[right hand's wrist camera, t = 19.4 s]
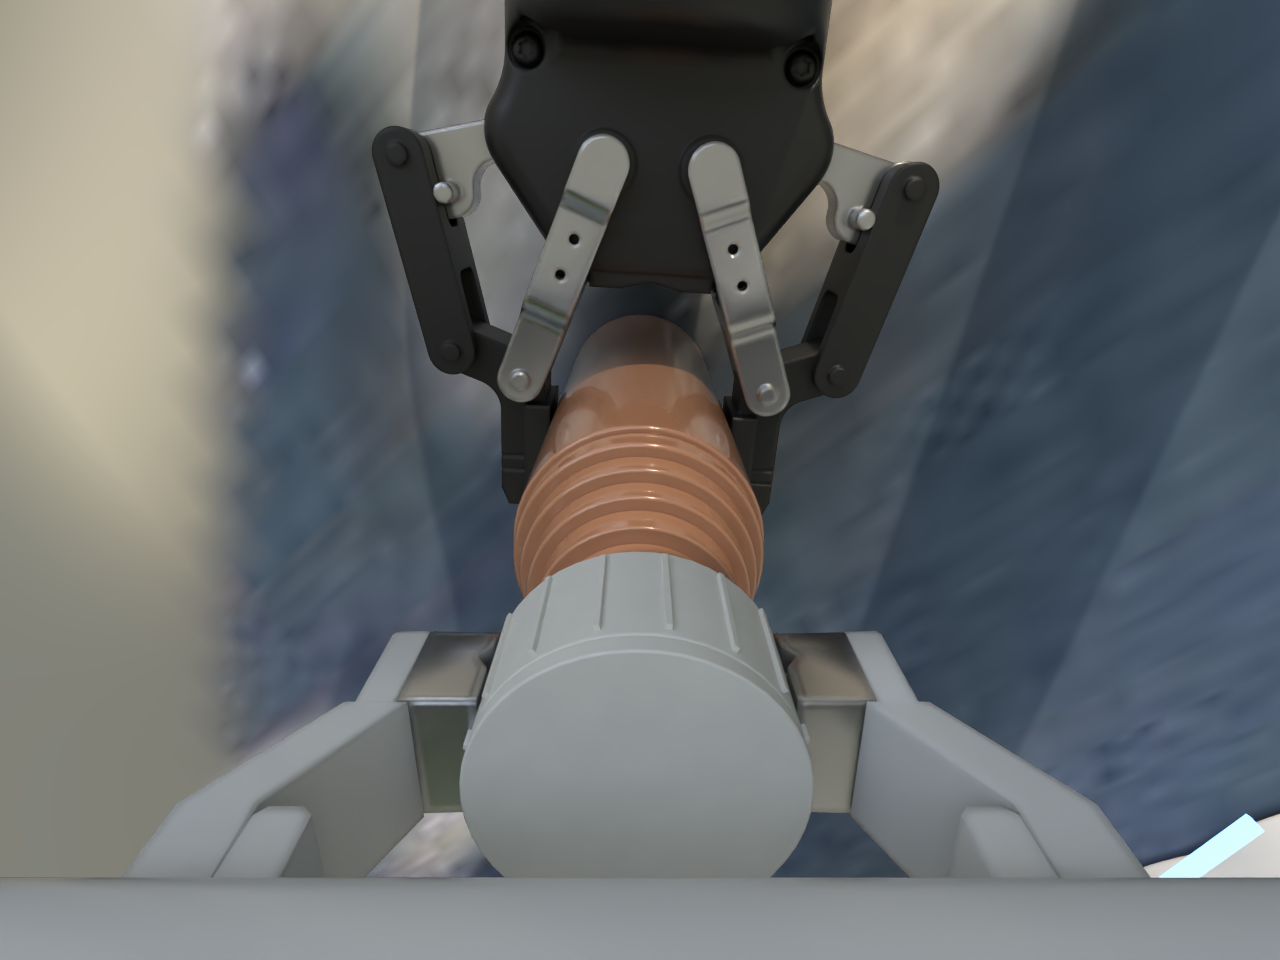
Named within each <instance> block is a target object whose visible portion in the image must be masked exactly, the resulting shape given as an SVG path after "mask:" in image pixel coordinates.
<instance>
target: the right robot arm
mask: <svg viewBox="0 0 1280 960" xmlns="http://www.w3.org/2000/svg"><path fill="white" fill-rule="evenodd" d="M500 636H501V633H486V632H438V631H434V632H430V631H399V632H397V633H395V634H394V635H393V636H392V637H391V639H390V640H389V642H388V644H387V646H386V647H385V649H384V651H383V653H382V655H381V656H380V658H379V660H378V662H377V663H376V665H375V667H374V669H373V671H372V672H371V674H370V676H369V678H368V680H367V681H366V683H365V685H364V687H363V688H362V690H361V692H360V694H359V696H358V697H357V699H356V701H355V702H343V703H342V704H340V705H338V706H337V707H335V708H333V709H332V710H330V711H328V712H327V713H325V714H324V715H322V716H320V717H319V718H317V719H315V720H314V721H312V722H310V723H309V724H307V725H305V726H304V727H302V728H300V729H299V730H297V731H295V732H294V733H292V734H290V735H289V736H287V737H285V738H284V739H282V740H281V741H279V742H277V743H276V744H274V745H272V746H271V747H269V748H267V749H266V750H264V751H262V752H261V753H259V754H257V755H256V756H254V757H252V758H251V759H249V760H247V761H246V762H244V763H242V764H241V765H239V766H238V767H236V768H234V769H233V770H231V771H229V772H228V773H226V774H224V775H223V776H221V777H219V778H218V779H216V780H214V781H213V782H211V783H209V784H208V785H206V786H204V787H203V788H201V789H199V790H198V791H196V792H195V793H193V794H191V795H190V796H188V797H186V798H185V799H183V800H181V801H180V802H178V803H177V804H176V805H175V806H174V808H173V809H172V810H171V812H170V813H169V814H168V816H167V817H166V818H165V820H164V821H163V822H162V824H161V825H160V826H159V828H158V829H157V830H156V831H155V833H154V834H153V835H152V837H151V838H150V839H149V841H148V842H147V843H146V845H145V846H144V847H143V849H142V850H141V851H140V853H139V854H138V855H137V857H136V858H135V859H134V860H133V862H132V863H131V864H130V866H129V867H128V868H127V870H126V871H125V872H124V874H123V875H122V876H121V877H0V960H1280V814H1278V815H1275V816H1272V817H1269V818H1266V819H1263V820H1260V821H1258V822H1255V821H1254V820H1253V819H1252V818H1251V817H1250V816H1248V815H1247V814H1245V815H1244V816H1242V817H1241V818H1240V819H1238V820H1237V821H1236V822H1234V823H1233V824H1231V825H1230V826H1229V827H1227V828H1226V829H1225V830H1223V831H1222V832H1220V833H1219V834H1218V835H1216V836H1215V837H1214V838H1212V839H1211V840H1209V841H1208V842H1207V843H1205V844H1204V845H1203V846H1201V847H1200V848H1198V849H1197V850H1196V851H1194V852H1193V853H1192V854H1190V855H1186V856H1182V857H1177V858H1173V859H1169V860H1165V861H1161V862H1158V863H1155V864H1151V865H1148V866H1145V867H1143V866H1142V865H1141V863H1140V862H1139V861H1138V859H1137V858H1136V857H1135V855H1134V854H1133V853H1132V851H1131V850H1130V849H1129V847H1128V846H1127V845H1126V843H1125V842H1124V841H1123V839H1122V838H1121V836H1120V835H1119V834H1118V832H1117V831H1116V830H1115V828H1114V827H1113V826H1112V824H1111V823H1110V822H1109V820H1108V819H1107V818H1106V816H1105V815H1104V814H1103V812H1102V811H1101V810H1100V808H1099V807H1098V805H1097V804H1095V803H1094V802H1092V801H1091V800H1089V799H1087V798H1086V797H1084V796H1082V795H1081V794H1079V793H1077V792H1076V791H1074V790H1073V789H1071V788H1069V787H1068V786H1066V785H1064V784H1063V783H1061V782H1060V781H1058V780H1056V779H1055V778H1053V777H1051V776H1050V775H1048V774H1046V773H1045V772H1043V771H1042V770H1040V769H1038V768H1037V767H1035V766H1033V765H1032V764H1030V763H1028V762H1027V761H1025V760H1024V759H1022V758H1020V757H1019V756H1017V755H1015V754H1014V753H1012V752H1010V751H1009V750H1007V749H1006V748H1004V747H1002V746H1001V745H999V744H997V743H996V742H994V741H993V740H991V739H989V738H988V737H986V736H984V735H983V734H981V733H979V732H978V731H976V730H975V729H973V728H971V727H970V726H968V725H966V724H965V723H963V722H961V721H960V720H958V719H957V718H955V717H953V716H952V715H950V714H948V713H947V712H945V711H943V710H942V709H940V708H939V707H937V706H935V705H934V704H932V703H930V702H919V701H918V699H917V698H916V696H915V694H914V692H913V690H912V689H911V687H910V685H909V683H908V681H907V680H906V678H905V676H904V674H903V672H902V671H901V669H900V667H899V665H898V663H897V662H896V660H895V658H894V656H893V655H892V653H891V651H890V649H889V647H888V646H887V644H886V642H885V640H884V638H883V637H882V635H881V634H880V633H879V632H877V631H855V632H840V633H789V634H773V636H774V639H775V642H776V646H777V649H778V652H779V656H780V659H781V662H782V665H783V668H784V671H785V673H786V674H787V677H786V679H787V682H788V685H789V689H790V692H791V695H792V699H793V702H794V705H795V708H796V712H797V715H798V718H799V721H800V724H805V725H806V728H807V731H808V735H809V738H810V744H807V747H808V750H809V754H810V757H811V762H812V768H813V773H814V798H813V803H812V809H811V812H832V813H850V816H851V817H852V818H853V819H854V820H855V822H856V823H857V824H858V825H859V826H860V827H861V828H862V829H863V830H864V831H865V832H866V833H867V834H868V835H869V836H870V837H871V838H872V839H873V840H874V841H875V842H876V843H877V844H878V845H879V846H880V847H881V848H882V849H883V851H884V852H885V853H886V854H887V855H888V856H889V857H890V858H891V859H892V860H893V861H894V862H895V863H896V864H897V865H898V866H899V867H900V868H901V869H902V870H903V871H904V872H905V873H906V874H907V875H908V876H909V877H910V878H576V877H421V878H364V877H365V876H366V875H367V874H368V873H369V872H370V871H371V870H372V869H373V868H374V867H375V866H376V865H377V864H378V863H379V862H380V861H381V860H382V859H383V858H384V857H385V856H386V855H387V854H388V853H389V852H390V851H391V850H392V849H393V848H394V847H395V846H396V845H397V844H398V843H399V842H400V841H401V840H402V839H403V838H404V837H405V835H406V834H407V833H408V832H409V831H410V830H411V829H412V828H413V827H414V826H415V825H416V824H417V823H418V822H419V821H420V820H421V819H422V818H423V817H424V814H423V813H442V812H463V809H462V805H461V801H460V785H459V781H460V772H461V764H462V760H463V757H464V753H465V750H463V744H464V741H465V738H466V734H467V731H468V729H470V730H472V727H473V724H474V721H475V718H476V715H477V711H478V708H479V705H480V702H481V699H482V693H483V690H484V686H485V683H486V680H487V677H488V674H489V671H490V667H491V664H492V661H493V658H494V655H495V652H496V648H497V645H498V642H499V639H500Z"/></svg>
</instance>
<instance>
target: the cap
mask: <svg viewBox="0 0 1280 960" xmlns="http://www.w3.org/2000/svg"><path fill="white" fill-rule="evenodd" d="M786 677H787V674H786V673H785V671H784V668H783V665H782V662H781V659H780V656H779V652H778V649H777V646H776V642H775V639H774V636H773V633H772V630H771V628H770V626H769V624H768V620H767V617H766V614H765V611H764V610H763V609H762V608H761V609H759V608H758V607H757V606H756V604H755V603H754V602H753V601H752V600H751V599H750V598H749V597H748V596H747V595H746V594H745V592H744V591H743V590H742V589H740V588H739V587H738V586H736V585H735V584H734V583H733V582H731V581H730V580H729V579H727V578H726V577H725V576H724V574H722V573H720V572H719V573H717V572H716V571H714V570H712V569H710V568H708V567H706V566H703V565H701V564H699V563H696V562H694V561H691V560H688V559H684V558H681V557H677V556H674V555H668V554H665V553H662V554H661V553H655V552H622V553H612V554H607V555H606V554H604V555H600V556H597V557H593V558H590V559H587V560H584V561H581V562H578V563H576V564H573V565H571V566H569V567H567V568H565V569H563V570H561V571H559V572H557V573H555V574H554V575H552V576H550V575H549V576H548V577H546V578H545V580H544V581H543V582H542V583H541V584H539V585H538V586H537V587H536V588H535V589H533V590H532V591H531V592H530V593H529V594H528V595H527V596H526V597H525V598H524V600H523V601H522V602H521V603H520V604H519V605H518V606H517V608H516V609H515V611H514V612H513V614H511V613H509V614H508V615H507V617H506V620H505V623H504V626H503V629H502V633H501V636H500V639H499V642H498V645H497V648H496V652H495V655H494V658H493V661H492V664H491V667H490V671H489V674H488V677H487V680H486V683H485V686H484V690H483V693H482V699H481V702H480V705H479V708H478V711H477V715H476V718H475V721H474V724H473V727H472V730H470V729H468V731H467V734H466V738H465V741H464V744H463V750H465V753H464V757H463V760H462V764H461V772H460V781H459V785H460V801H461V805H462V809H463V814H464V818H465V821H466V823H467V826H468V828H469V831H470V833H471V836H472V837H473V839H474V841H475V842H476V844H477V846H478V847H479V849H480V851H481V852H482V853H483V855H484V856H485V857H486V858H487V860H488V861H489V862H490V863H491V865H492V866H493V867H494V868H495V869H496V870H497V871H498V872H500V873H501V874H502V875H503V876H504V877H576V878H769V877H770V876H772V875H773V874H774V873H775V872H776V871H777V870H778V869H779V868H780V867H781V865H782V864H783V863H784V862H785V861H786V860H787V859H788V857H789V856H790V854H791V853H792V852H793V850H794V849H795V848H796V846H797V844H798V842H799V841H800V839H801V837H802V835H803V833H804V831H805V828H806V826H807V823H808V820H809V817H810V814H811V809H812V803H813V798H814V773H813V768H812V762H811V757H810V754H809V750H808V747H807V744H810V738H809V735H808V731H807V728H806V725H805V724H800V721H799V718H798V715H797V712H796V708H795V705H794V702H793V699H792V695H791V692H790V689H789V685H788V682H787V679H786Z"/></svg>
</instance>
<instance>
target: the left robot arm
mask: <svg viewBox="0 0 1280 960" xmlns="http://www.w3.org/2000/svg"><path fill="white" fill-rule="evenodd" d="M831 5H832V0H505V59H504V66H503V71H502V75H501V79H500V81H499V84H498V87H497V89H496V91H495V93H494V95H493V97H492V99H491V101H490V103H489V105H488V107H487V110H486V114H485V119H484V120H479V121H474V122H469V123H464V124H459V125H453V126H448V127H443V128H438V129H433V130H428V131H423V132H419V131H415V130H411V129H408V128H404V127H400V126H389V127H386V128H384V129H382V130H381V131H380V132H379V133H378V134H377V135H376V137H375V139H374V141H373V145H372V156H373V160H374V164H375V167H376V171H377V174H378V178H379V181H380V185H381V188H382V192H383V195H384V199H385V202H386V206H387V210H388V213H389V217H390V220H391V224H392V227H393V231H394V234H395V238H396V241H397V245H398V248H399V252H400V255H401V259H402V262H403V266H404V269H405V273H406V277H407V280H408V284H409V287H410V291H411V294H412V298H413V301H414V305H415V308H416V312H417V315H418V319H419V322H420V326H421V329H422V333H423V336H424V340H425V343H426V347H427V351H428V354H429V357H430V360H431V361H432V363H433V364H434V366H435V367H436V368H438V369H439V370H440V371H442V372H444V373H447V374H459V373H462V374H465V375H467V376H469V377H472V378H474V379H477V380H479V381H482V382H484V383H486V384H487V385H489V386H490V387H491V388H492V389H493V390H494V391H495V393H496V394H497V396H498V398H499V400H500V404H501V439H502V488H503V490H504V493H505V495H506V497H507V499H508V502H509V503H513V504H519V502H520V500H521V497H522V495H523V492H524V490H525V487H526V484H527V482H528V479H529V477H530V474H531V472H532V469H533V467H534V464H535V462H536V459H537V457H538V454H539V452H540V449H541V446H542V444H543V441H544V439H545V436H546V434H547V431H548V429H549V426H550V424H551V421H552V419H553V416H554V414H555V411H556V408H557V406H558V386H554V385H551V369H552V367H553V364H554V362H555V359H556V357H557V354H558V352H559V349H560V347H561V344H562V342H563V340H564V337H565V335H566V332H567V330H568V327H569V325H570V322H571V320H572V317H573V315H574V313H575V310H576V308H577V306H578V303H579V301H580V299H581V296H582V294H583V291H584V289H585V286H586V284H587V282H590V283H589V286H592V287H608V288H623V287H627V286H632V285H637V284H642V283H646V282H653V283H656V284H659V285H662V286H665V287H668V288H671V289H674V290H677V291H680V292H689V293H705V294H711V295H712V299H713V303H714V306H715V310H716V313H717V317H718V320H719V323H720V326H721V329H722V333H723V337H724V340H725V344H726V348H727V352H728V356H729V359H730V363H731V367H732V371H733V374H734V384H733V393H732V397H730V396H724V403H723V412H724V414H725V417H726V420H727V422H728V425H729V428H730V430H731V433H732V435H733V438H734V441H735V443H736V446H737V449H738V451H739V454H740V457H741V459H742V462H743V465H744V467H745V470H746V473H747V475H748V478H749V480H750V483H751V486H752V488H753V491H754V494H755V496H756V499H757V502H758V504H759V507H760V511H761V515H762V514H763V512H764V510H765V509H766V507H767V505H768V504H769V500H770V493H771V483H772V478H773V469H774V463H775V456H776V449H777V442H778V434H779V427H780V422H781V419H782V417H783V415H784V414H785V412H786V411H787V410H788V409H789V408H790V407H791V406H793V405H794V404H796V403H798V402H801V401H804V400H808V399H811V398H815V397H818V396H822V395H825V396H828V397H831V398H840V397H844V396H846V395H848V394H850V393H851V392H852V391H853V390H854V389H855V388H856V387H857V385H858V383H859V381H860V378H861V376H862V374H863V371H864V369H865V367H866V364H867V362H868V359H869V357H870V355H871V352H872V350H873V348H874V345H875V343H876V340H877V338H878V336H879V333H880V331H881V329H882V326H883V324H884V321H885V319H886V317H887V314H888V312H889V310H890V307H891V305H892V302H893V300H894V298H895V295H896V293H897V291H898V288H899V286H900V283H901V281H902V279H903V276H904V274H905V272H906V269H907V267H908V264H909V262H910V260H911V257H912V255H913V253H914V250H915V248H916V245H917V243H918V241H919V238H920V236H921V234H922V231H923V229H924V226H925V224H926V222H927V219H928V217H929V215H930V212H931V210H932V207H933V205H934V203H935V200H936V198H937V195H938V192H939V178H938V175H937V173H936V171H935V170H934V169H933V168H932V167H931V166H930V165H928V164H926V163H923V162H896V163H893V162H890V161H887V160H884V159H881V158H878V157H875V156H872V155H869V154H866V153H863V152H860V151H857V150H854V149H851V148H848V147H845V146H842V145H839V144H836V143H834V136H833V130H832V127H831V124H830V121H829V119H828V116H827V113H826V110H825V106H824V101H823V94H822V72H823V64H824V57H825V50H826V42H827V34H828V27H829V20H830V12H831ZM493 163H496V165H497V167H498V168H499V170H500V171H501V173H502V174H503V176H504V177H505V179H506V180H507V182H508V183H509V185H510V186H511V188H512V190H513V191H514V193H515V194H516V196H517V197H518V199H519V200H520V202H521V203H522V205H523V206H524V208H525V209H526V211H527V212H528V214H529V216H530V217H531V219H532V220H533V222H534V223H535V225H536V226H537V228H538V229H539V231H540V232H541V234H542V235H543V237H544V239H545V240H546V242H545V245H544V247H543V250H542V253H541V255H540V258H539V261H538V263H537V266H536V269H535V271H534V274H533V277H532V279H531V282H530V284H529V287H528V290H527V292H526V295H525V298H524V301H523V304H522V308H521V313H520V316H519V319H518V321H517V324H516V327H515V329H514V332H513V334H511V333H508V332H506V331H504V330H501V329H499V328H497V327H494V326H492V325H490V323H489V319H488V315H487V311H486V307H485V303H484V299H483V295H482V291H481V287H480V283H479V279H478V275H477V270H476V266H475V262H474V258H473V254H472V250H471V246H470V242H469V238H468V234H467V230H466V226H465V222H464V218H463V217H465V216H468V215H470V214H472V213H473V212H474V211H475V210H476V209H477V208H478V206H479V204H480V200H481V187H480V184H481V178H482V175H483V173H484V171H485V170H486V169H487V167H488V166H490V165H491V164H493ZM818 184H819V185H820V186H821V187H822V188H823V189H824V191H825V192H826V195H827V198H828V211H827V215H826V225H827V228H828V230H829V232H830V234H831V235H832V236H833V237H834V238H836V239H838V240H840V242H839V245H838V247H837V250H836V252H835V255H834V258H833V260H832V263H831V266H830V268H829V271H828V273H827V276H826V279H825V281H824V284H823V286H822V289H821V292H820V294H819V297H818V300H817V302H816V305H815V307H814V310H813V313H812V315H811V318H810V320H809V323H808V326H807V328H806V331H805V334H804V336H803V339H802V341H801V344H798V345H794V346H791V347H788V348H784V349H781V350H780V346H779V341H778V337H777V333H776V320H775V314H774V309H773V305H772V301H771V297H770V292H769V288H768V284H767V280H766V275H765V271H764V267H763V263H762V258H761V254H760V252H761V251H762V250H763V248H764V247H765V246H766V245H767V244H768V243H769V241H770V240H771V239H772V238H773V237H774V235H775V234H776V233H777V232H778V231H779V230H780V228H781V227H782V226H783V225H784V224H785V222H786V221H787V220H788V219H789V218H790V217H791V215H792V214H793V213H794V212H795V211H796V209H797V208H798V207H799V206H800V205H801V204H802V202H803V201H804V200H805V199H806V198H807V196H808V195H809V194H810V193H811V192H812V190H813V189H814V188H815V187H816V186H817V185H818Z"/></svg>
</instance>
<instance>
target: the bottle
mask: <svg viewBox="0 0 1280 960" xmlns="http://www.w3.org/2000/svg"><path fill="white" fill-rule="evenodd" d="M513 544H514V548H513V559H514V570H515V574H516V579H517V583H518V585H519V588H520V591H521V593H522V596H523V600H524V598H525V597H526V596H527V595H528V594H529V593H530V592H531V591H532V590H533V589H535V588H536V587H537V586H538V585H539V584H541V583H542V582H543V581H544V580H545V578H546V577H548V576H549V575H550V576H552V575H554V574H555V573H557V572H559V571H561V570H563V569H565V568H567V567H569V566H571V565H573V564H576V563H578V562H581V561H584V560H587V559H590V558H593V557H597V556H600V555H604V554H606V555H607V554H612V553H622V552H655V553H661V554H662V553H665V554H668V555H674V556H677V557H681V558H684V559H688V560H691V561H694V562H696V563H699V564H701V565H703V566H706V567H708V568H710V569H712V570H714V571H716V572H717V573H719V572H720V573H722V574H724V576H725V577H726V578H727V579H729V580H730V581H731V582H733V583H734V584H735V585H736V586H738V587H739V588H740V589H742V590H743V591H744V592H745V594H746V595H747V596H748V597H749V598H750V599H751V600H752V601H753V600H754V596H755V594H756V591H757V589H758V586H759V583H760V580H761V575H762V571H763V562H764V526H763V519H762V515H761V511H760V507H759V504H758V502H757V499H756V496H755V494H754V491H753V488H752V486H751V483H750V480H749V478H748V475H747V473H746V470H745V467H744V465H743V462H742V459H741V457H740V454H739V451H738V449H737V446H736V443H735V441H734V438H733V435H732V433H731V430H730V428H729V425H728V422H727V420H726V417H725V414H724V412H723V409H722V406H721V404H720V401H719V398H718V396H717V393H716V390H715V388H714V385H713V383H712V380H711V377H710V375H709V372H708V369H707V367H706V364H705V361H704V359H703V356H702V354H701V352H700V350H699V348H698V346H697V345H696V343H695V342H694V341H693V339H692V338H691V337H690V336H689V335H688V334H687V333H686V332H685V331H684V330H682V329H681V328H680V327H679V326H677V325H675V324H673V323H672V322H670V321H667V320H665V319H663V318H659V317H655V316H650V315H630V316H624V317H621V318H617V319H615V320H612V321H610V322H608V323H606V324H605V325H603V326H601V327H600V328H599V329H597V330H596V331H595V332H594V333H593V334H592V335H591V336H590V337H589V338H588V339H587V340H586V342H585V343H584V344H583V346H582V347H581V349H580V351H579V353H578V355H577V358H576V360H575V363H574V365H573V368H572V370H571V373H570V376H569V378H568V381H567V383H566V386H565V388H564V391H563V393H562V396H561V398H560V401H559V403H558V406H557V408H556V411H555V414H554V416H553V419H552V421H551V424H550V426H549V429H548V431H547V434H546V436H545V439H544V441H543V444H542V446H541V449H540V452H539V454H538V457H537V459H536V462H535V464H534V467H533V469H532V472H531V474H530V477H529V479H528V482H527V484H526V487H525V490H524V492H523V495H522V497H521V500H520V502H519V505H518V508H517V512H516V516H515V521H514V531H513Z"/></svg>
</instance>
